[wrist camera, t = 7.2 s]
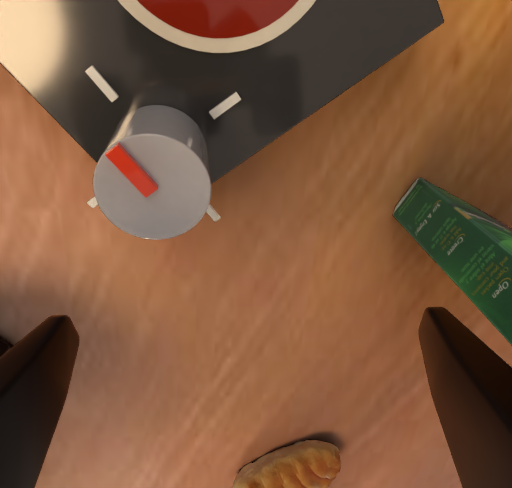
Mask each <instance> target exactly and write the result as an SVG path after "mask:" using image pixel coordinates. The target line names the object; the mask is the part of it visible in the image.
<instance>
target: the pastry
mask: <svg viewBox="0 0 512 488" xmlns="http://www.w3.org/2000/svg"><path fill="white" fill-rule="evenodd" d="M340 463H341V461H340V455H339V449H338V448H337V447H336V446H334V445H333V444H330V443H327V442H323V441H318V440H307V439H306V441H304V442H301V441H299V442H296V443H295V444H294V445H291V446H287V447H281V448H280V449H278V450H275V451H273V453H272V452H270V453H268V454H266V455H264V456H262V457H260V458H258V460H257V461H256V462H254V463H249V464H247V465H246V466H244V467H243V468H242V469H241V471H240V472H239V473H238V476H237V477H236V479H235V480H234V488H328V487H329V485H330V483H331V482H332V480H333V479H335V477H336V475H337V473H338V472H339V471H340Z"/></svg>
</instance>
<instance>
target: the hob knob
mask: <svg viewBox="0 0 512 488" xmlns="http://www.w3.org/2000/svg"><path fill="white" fill-rule="evenodd" d="M93 190H94V194H95V198H96V201H97V203H98V205H99V207H100V209H101V211H102V212H103V213H104V215H105V216H106V217H107V218H108V219H109V220H110V221H111V222H112V223H113V224H114V225H115V226H116V227H118V228H119V229H121V230H122V231H124V232H126V233H128V234H131V235H133V236H136V237H140V238H144V239H153V240H160V239H168V238H173V237H176V236H179V235H181V234H183V233H185V232H187V231H189V230H190V229H191V228H193V227H194V226H195V225H196V224H197V223H198V222H199V221H200V220H201V219H202V217H203V216H204V214H205V213H206V211H207V209H208V206H209V203H210V199H211V179H210V169H209V159H208V149H207V143H206V140H205V137H204V135H203V133H202V131H201V129H200V128H199V126H198V125H197V124H196V123H195V122H194V120H192V119H191V118H190V117H189V116H188V115H186V114H185V113H183V112H181V111H180V110H178V109H175V108H172V107H169V106H164V105H149V106H144V107H141V108H138V109H136V110H134V111H132V112H131V113H129V114H128V115H127V116H125V117H124V118H123V119H122V121H121V122H120V123H119V125H118V126H117V128H116V130H115V132H114V133H113V135H112V137H111V139H110V141H109V142H108V144H107V146H106V148H105V150H104V152H103V153H102V155H101V157H100V159H99V161H98V162H97V165H96V167H95V171H94V175H93Z"/></svg>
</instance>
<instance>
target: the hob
mask: <svg viewBox="0 0 512 488" xmlns="http://www.w3.org/2000/svg"><path fill="white" fill-rule="evenodd" d="M443 23H444V19H443V16H442V13H441V10H440V7H439V4H438V1H437V0H316V1H315V2H314V4H313V5H312V6H311V8H310V9H309V10H308V11H307V12H306V13H305V14H304V15H303V16H302V17H301V19H300V20H298V21H297V22H296V23H295V24H294V25H293V26H291V27H290V28H289V29H288V30H287V31H285V32H284V33H282V34H280V35H279V36H277V37H276V38H274V39H272V40H270V41H268V42H266V43H264V44H262V45H260V46H257V47H254V48H250V49H247V50H243V51H237V52H231V53H210V52H203V51H197V50H193V49H189V48H186V47H182V46H180V45H177V44H175V43H173V42H170V41H168V40H166V39H164V38H163V37H161V36H159V35H157V34H156V33H154V32H152V31H151V30H149V29H148V28H147V27H146V26H144V25H143V24H142V23H140V22H139V21H138V20H136V19H135V18H134V17H133V16H132V15H131V14H130V13H129V12H128V11H127V10H126V9H125V8H124V7H123V6H122V5H121V4H120V2H119V1H118V0H0V63H1V64H2V65H3V67H4V68H5V69H6V70H7V71H8V72H9V73H10V74H11V75H12V76H13V77H14V78H15V79H16V80H17V81H18V82H19V83H20V84H21V85H22V86H23V87H24V88H25V89H26V90H27V91H28V92H29V93H30V94H31V95H32V96H33V97H34V98H35V99H36V100H37V102H38V103H39V104H40V105H41V106H42V107H43V108H44V109H45V110H46V111H47V112H48V113H49V114H50V115H51V116H52V117H53V118H54V119H55V120H56V121H57V122H58V123H59V124H60V125H61V126H62V127H63V128H64V129H65V130H66V131H67V132H68V133H69V134H70V136H71V137H72V138H73V139H74V140H75V141H76V142H77V143H78V144H79V145H80V146H81V147H82V148H83V149H84V150H85V151H86V152H87V153H88V154H89V155H90V156H91V157H92V158H93V159H94V160H95V161H96V162H98V161H99V159H100V157H101V155H102V153H103V152H104V150H105V148H106V146H107V144H108V142H109V141H110V139H111V137H112V135H113V133H114V132H115V130H116V128H117V126H118V125H119V123H120V122H121V121H122V119H123V118H124V117H125V116H127V115H128V114H129V113H131V112H132V111H134V110H136V109H138V108H141V107H144V106H149V105H164V106H169V107H172V108H175V109H178V110H180V111H181V112H183V113H185V114H186V115H188V116H189V117H190V118H191V119H192V120H194V122H195V123H196V124H197V125H198V126H199V128H200V129H201V131H202V133H203V135H204V137H205V140H206V143H207V149H208V159H209V169H210V179H211V184H212V183H213V182H215V181H216V180H218V179H219V178H221V177H222V176H223V175H225V174H226V173H228V172H229V171H231V170H232V169H234V168H235V167H236V166H238V165H239V164H241V163H242V162H244V161H245V160H246V159H248V158H249V157H251V156H252V155H254V154H255V153H257V152H258V151H259V150H261V149H262V148H264V147H265V146H267V145H268V144H270V143H271V142H272V141H274V140H275V139H277V138H278V137H280V136H281V135H283V134H284V133H285V132H287V131H288V130H290V129H291V128H293V127H294V126H296V125H297V124H298V123H300V122H301V121H303V120H304V119H306V118H307V117H308V116H310V115H311V114H313V113H314V112H316V111H317V110H319V109H320V108H321V107H323V106H324V105H326V104H327V103H329V102H330V101H332V100H333V99H334V98H336V97H337V96H339V95H340V94H342V93H343V92H345V91H346V90H347V89H349V88H350V87H352V86H353V85H355V84H356V83H358V82H359V81H360V80H362V79H363V78H365V77H366V76H368V75H369V74H370V73H372V72H373V71H375V70H376V69H378V68H379V67H381V66H382V65H383V64H385V63H386V62H388V61H389V60H391V59H392V58H394V57H395V56H396V55H398V54H399V53H401V52H402V51H404V50H405V49H407V48H408V47H409V46H411V45H412V44H414V43H415V42H417V41H418V40H420V39H421V38H422V37H424V36H425V35H427V34H428V33H430V32H431V31H432V30H434V29H435V28H437V27H438V26H440V25H441V24H443ZM87 203H88V204H89V205H90V206H91V207H92V208H94V207H95V206H97V205H98V203H97V201H96V198H95V196H94V197H93V198H91V199H90V200H89V201H87ZM206 212H207V213H208V215H209V216H210V217H211V218H212V219H213V220H214V222H215V221H217V220H218V219H220V218H221V217H220V215H219V214H218V213H217V212H216V211H215V209H214V208H213V207H212V206H211V205H210V203H209V206H208V209H207V211H206Z"/></svg>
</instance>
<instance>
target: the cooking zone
mask: <svg viewBox="0 0 512 488" xmlns="http://www.w3.org/2000/svg"><path fill="white" fill-rule="evenodd" d="M118 1H119V2H120V4H121V5H122V6H123V7H124V8H125V9H126V10H127V11H128V12H129V13H130V14H131V15H132V16H133V17H134V18H135V19H136V20H138V21H139V22H140V23H142V24H143V25H144V26H146V27H147V28H148V29H149V30H151V31H152V32H154V33H156V34H157V35H159V36H161V37H163V38H164V39H166V40H168V41H170V42H173V43H175V44H177V45H180V46H182V47H186V48H189V49H193V50H197V51H203V52H210V53H231V52H237V51H243V50H247V49H250V48H254V47H257V46H260V45H262V44H264V43H266V42H268V41H270V40H272V39H274V38H276V37H277V36H279V35H280V34H282V33H284V32H285V31H287V30H288V29H289V28H290V27H291V26H293V25H294V24H295V23H296V22H297V21H298V20H300V19H301V17H302V16H303V15H304V14H305V13H306V12H307V11H308V10H309V9H310V8H311V6H312V5H313V4H314V2H315V1H316V0H118Z"/></svg>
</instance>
